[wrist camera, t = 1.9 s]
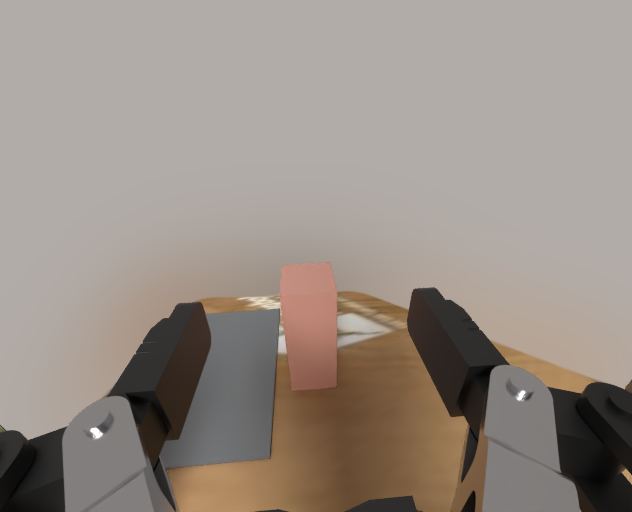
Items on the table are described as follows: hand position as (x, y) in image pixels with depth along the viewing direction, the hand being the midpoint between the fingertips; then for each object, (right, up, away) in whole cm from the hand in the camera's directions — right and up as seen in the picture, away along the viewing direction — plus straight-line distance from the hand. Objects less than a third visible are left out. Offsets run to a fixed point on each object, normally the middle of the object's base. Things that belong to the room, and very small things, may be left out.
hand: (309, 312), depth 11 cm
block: (0, -10, +19) cm, 21 cm away
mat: (-9, -10, +19) cm, 23 cm away
